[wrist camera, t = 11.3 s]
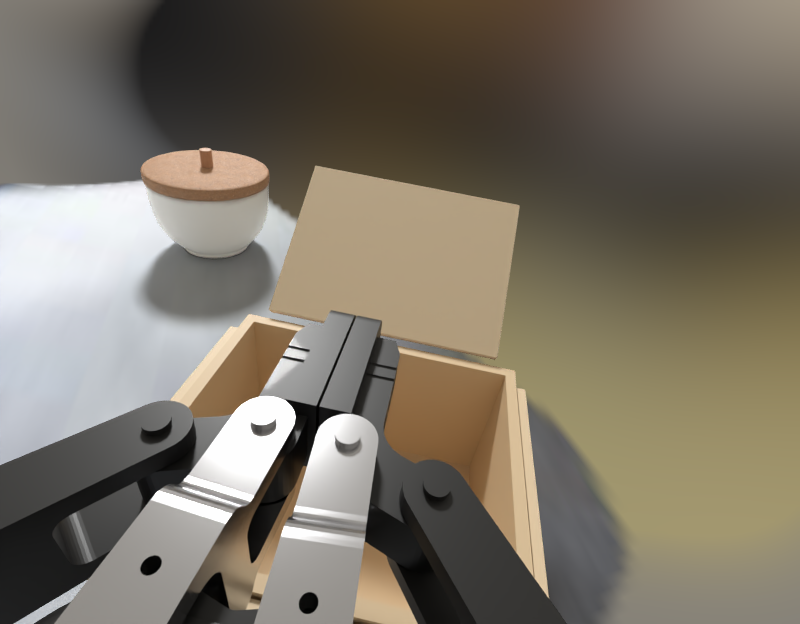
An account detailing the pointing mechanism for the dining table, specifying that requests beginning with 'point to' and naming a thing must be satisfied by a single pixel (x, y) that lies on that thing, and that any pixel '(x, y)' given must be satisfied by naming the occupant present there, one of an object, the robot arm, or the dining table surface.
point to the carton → (401, 442)
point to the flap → (401, 260)
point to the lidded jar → (208, 199)
